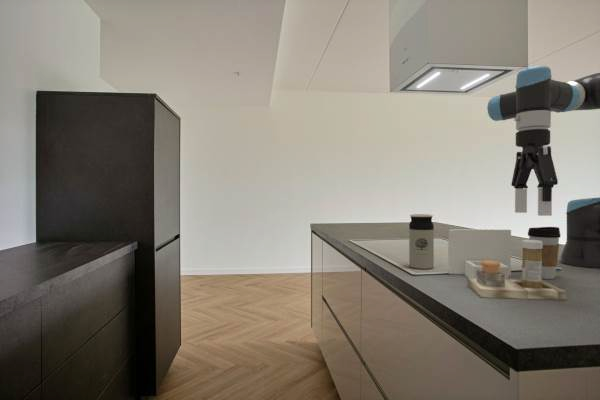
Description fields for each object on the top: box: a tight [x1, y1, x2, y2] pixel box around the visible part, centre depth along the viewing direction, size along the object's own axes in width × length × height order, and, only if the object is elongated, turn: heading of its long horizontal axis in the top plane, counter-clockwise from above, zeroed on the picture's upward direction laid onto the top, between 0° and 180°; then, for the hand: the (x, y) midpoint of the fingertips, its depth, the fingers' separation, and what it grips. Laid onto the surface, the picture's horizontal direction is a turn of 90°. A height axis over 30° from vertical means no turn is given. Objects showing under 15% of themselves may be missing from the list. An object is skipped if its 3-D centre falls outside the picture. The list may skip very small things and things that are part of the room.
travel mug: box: [408, 213, 435, 270], centre depth 133 cm, size 8×8×18 cm
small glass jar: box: [481, 260, 500, 274], centre depth 100 cm, size 4×4×5 cm
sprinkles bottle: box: [521, 239, 543, 288], centre depth 99 cm, size 5×5×14 cm
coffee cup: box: [527, 226, 562, 280], centre depth 117 cm, size 8×8×15 cm
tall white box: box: [447, 228, 512, 279], centre depth 116 cm, size 18×12×14 cm, turn 81°
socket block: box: [467, 270, 567, 301], centre depth 99 cm, size 19×12×5 cm, turn 81°
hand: (531, 214), depth 98 cm, fingers open, 13 cm apart
